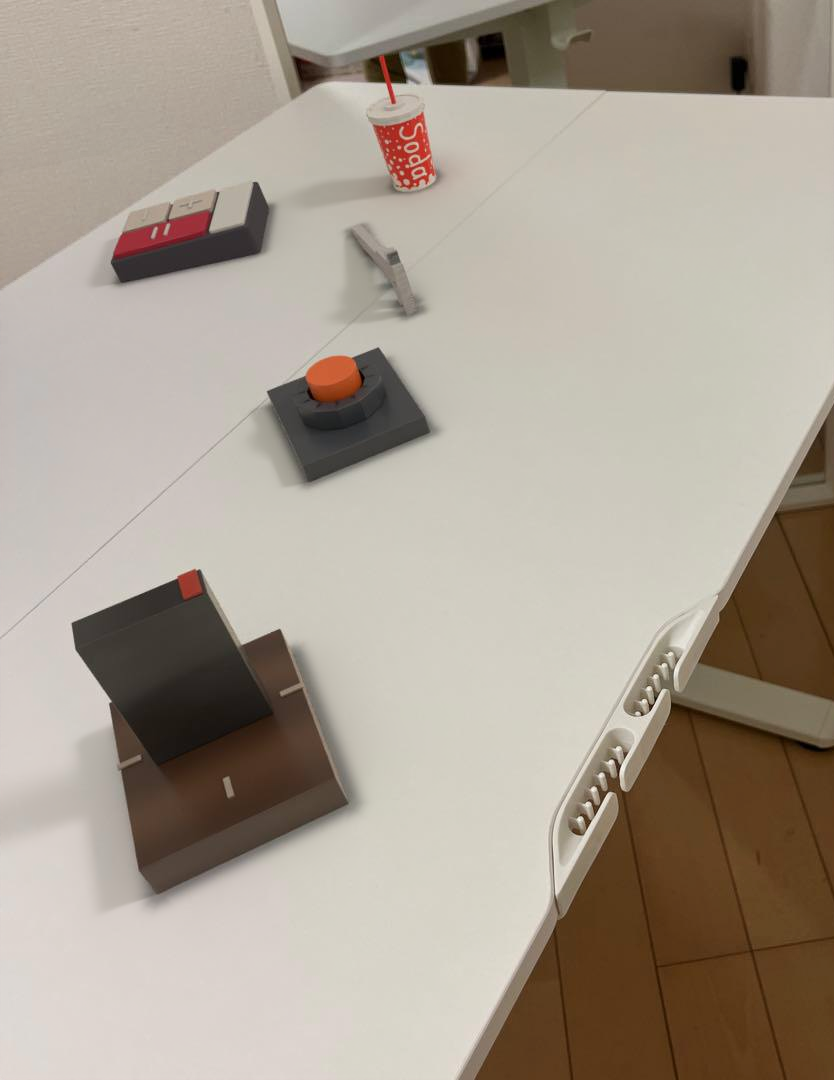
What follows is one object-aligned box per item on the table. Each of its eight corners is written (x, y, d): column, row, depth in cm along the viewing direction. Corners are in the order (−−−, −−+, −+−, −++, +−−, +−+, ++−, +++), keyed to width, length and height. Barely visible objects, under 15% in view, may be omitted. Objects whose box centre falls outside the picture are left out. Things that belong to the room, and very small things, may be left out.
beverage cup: (393, 205, 117) (354, 73, 108) (385, 183, 122) (348, 54, 113) (448, 190, 118) (415, 57, 108) (439, 168, 122) (406, 38, 113)
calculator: (124, 209, 120) (255, 173, 119) (143, 244, 123) (271, 209, 122) (105, 257, 112) (245, 219, 111) (125, 293, 115) (262, 256, 114)
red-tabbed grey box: (156, 765, 62) (72, 646, 55) (150, 738, 64) (68, 619, 57) (273, 713, 64) (206, 590, 57) (265, 687, 65) (198, 565, 58)
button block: (275, 412, 92) (258, 372, 90) (385, 368, 94) (372, 328, 91) (311, 488, 84) (294, 447, 81) (432, 438, 86) (419, 396, 83)
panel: (127, 732, 69) (105, 700, 67) (296, 657, 71) (280, 624, 69) (160, 901, 59) (135, 870, 57) (354, 809, 61) (336, 776, 59)
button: (306, 385, 88) (299, 367, 86) (353, 367, 88) (347, 349, 87) (320, 410, 85) (312, 391, 83) (368, 390, 85) (361, 372, 84)
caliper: (420, 317, 99) (402, 255, 95) (409, 322, 99) (390, 259, 95) (361, 232, 114) (343, 174, 110) (351, 235, 114) (333, 178, 110)
